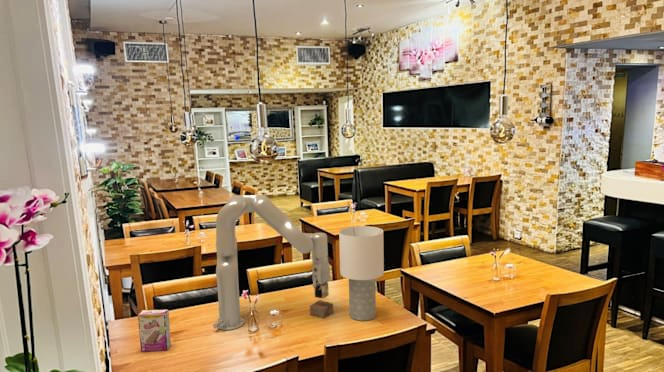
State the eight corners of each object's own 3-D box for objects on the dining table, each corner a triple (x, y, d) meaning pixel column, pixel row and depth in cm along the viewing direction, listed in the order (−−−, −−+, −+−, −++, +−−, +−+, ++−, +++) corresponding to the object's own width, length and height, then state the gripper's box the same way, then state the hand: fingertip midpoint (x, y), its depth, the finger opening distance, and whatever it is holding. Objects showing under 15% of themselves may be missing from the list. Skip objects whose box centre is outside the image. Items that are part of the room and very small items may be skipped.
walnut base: (323, 319, 213) (323, 309, 212) (310, 315, 217) (309, 305, 217) (333, 313, 219) (332, 303, 218) (320, 309, 224) (319, 300, 223)
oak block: (323, 298, 213) (323, 286, 213) (314, 297, 216) (314, 285, 215) (328, 294, 218) (328, 283, 217) (319, 293, 220) (319, 281, 219)
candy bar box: (140, 352, 186) (137, 314, 183) (145, 346, 190) (141, 309, 188) (167, 351, 186) (164, 313, 184) (171, 345, 191) (168, 308, 188)
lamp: (373, 304, 228) (372, 224, 222) (391, 321, 208) (390, 233, 202) (335, 310, 222) (333, 228, 216) (349, 328, 202) (347, 238, 196)
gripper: (318, 264, 205) (320, 302, 208) (335, 254, 220) (336, 289, 223) (304, 263, 208) (306, 300, 211) (321, 253, 223) (322, 287, 226)
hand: (321, 294), depth 217 cm, fingers closed on oak block, 5 cm apart
